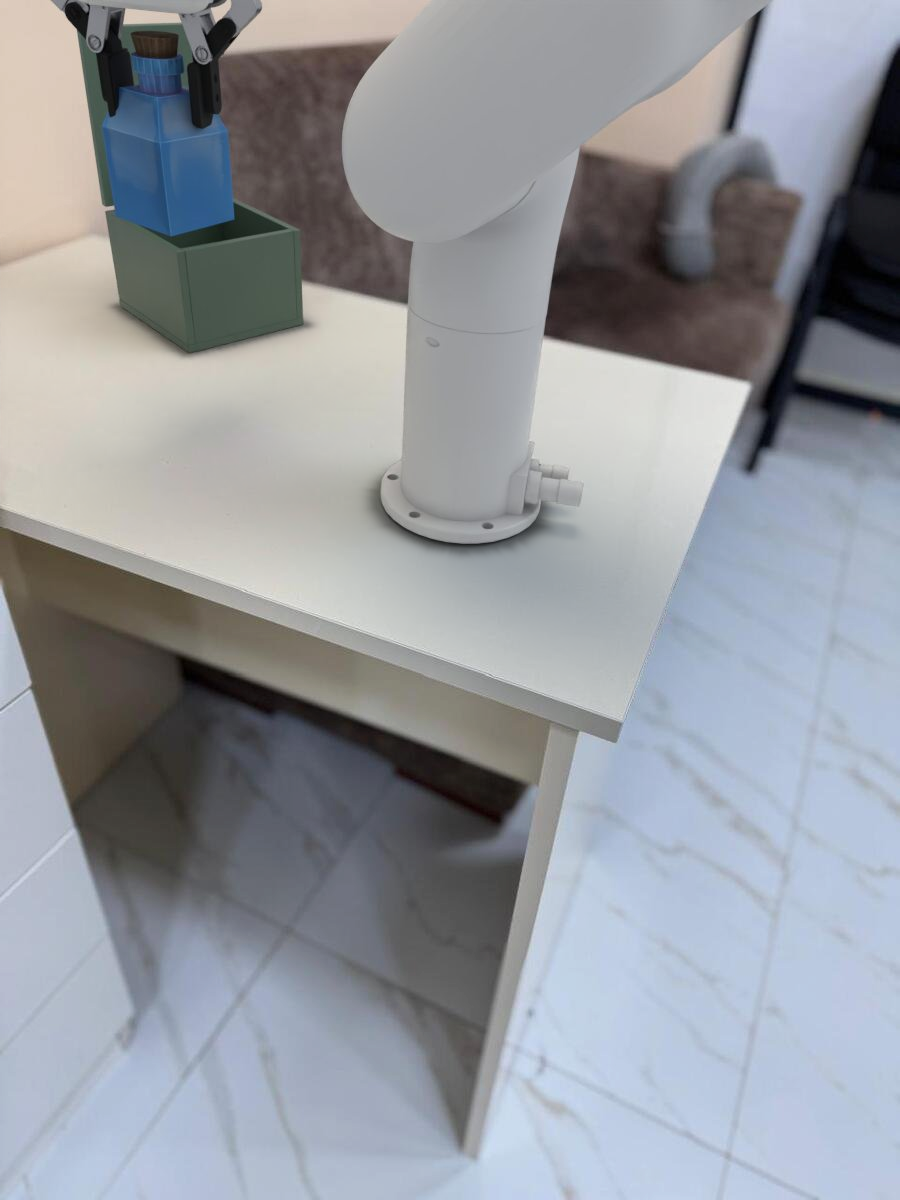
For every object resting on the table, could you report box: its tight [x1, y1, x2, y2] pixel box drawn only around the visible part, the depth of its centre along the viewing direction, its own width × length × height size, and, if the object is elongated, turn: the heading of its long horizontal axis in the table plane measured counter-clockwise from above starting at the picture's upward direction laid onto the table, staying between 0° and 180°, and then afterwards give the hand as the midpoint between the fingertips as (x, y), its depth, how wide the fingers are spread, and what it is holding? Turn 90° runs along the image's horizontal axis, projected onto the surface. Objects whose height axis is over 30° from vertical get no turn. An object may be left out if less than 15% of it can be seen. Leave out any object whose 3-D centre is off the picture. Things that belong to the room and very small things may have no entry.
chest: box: [104, 197, 304, 354], centre depth 94 cm, size 15×14×10 cm
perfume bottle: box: [102, 31, 234, 236], centre depth 65 cm, size 6×6×12 cm
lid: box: [76, 22, 221, 208], centre depth 91 cm, size 16×14×5 cm
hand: (164, 117), depth 65 cm, fingers closed on perfume bottle, 5 cm apart
